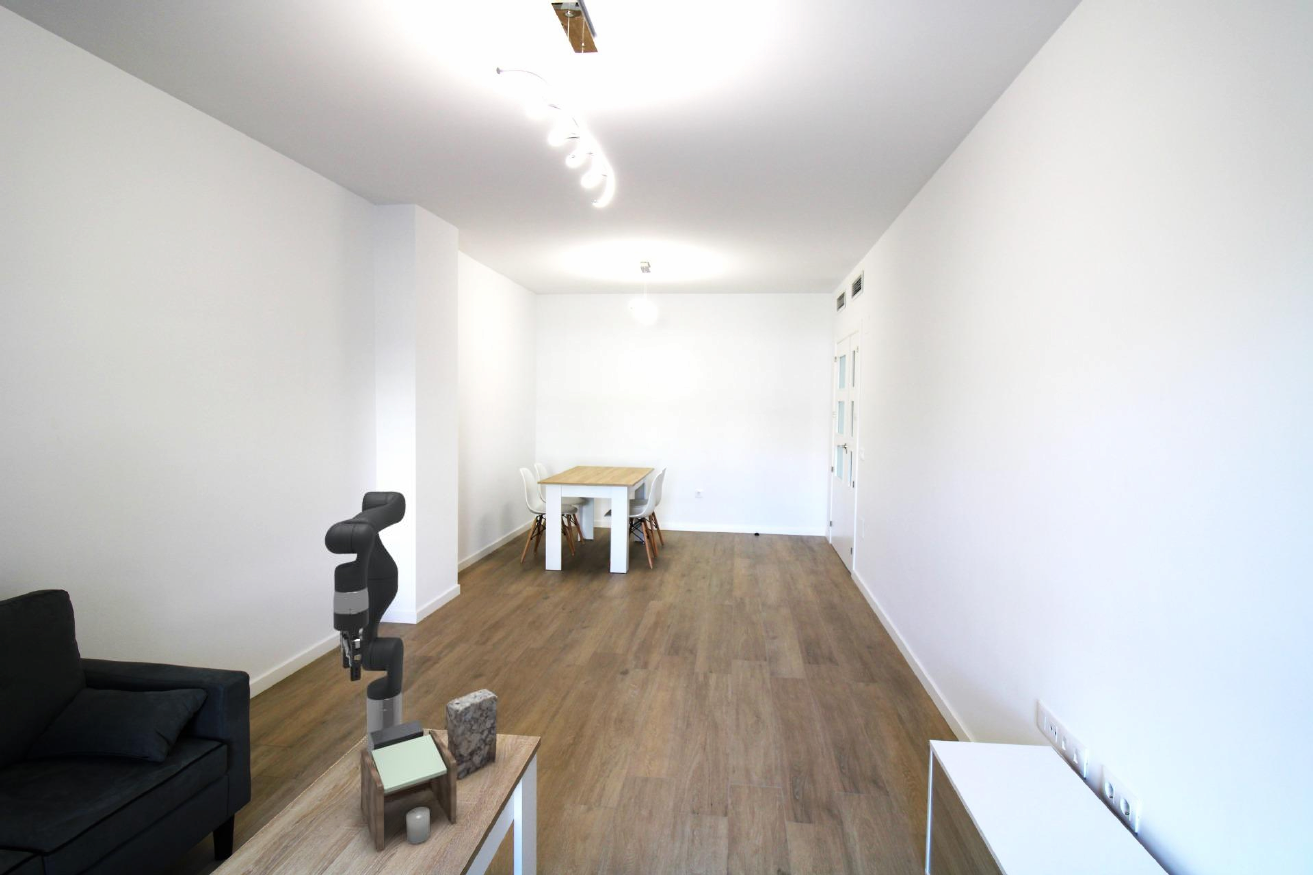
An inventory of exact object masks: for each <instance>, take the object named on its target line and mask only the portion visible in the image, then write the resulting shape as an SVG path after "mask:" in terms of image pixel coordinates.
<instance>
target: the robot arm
mask: <svg viewBox="0 0 1313 875" xmlns="http://www.w3.org/2000/svg"><path fill="white" fill-rule="evenodd" d="M406 507H407V503H406V497H405V495H403V493H401V492H399V491H367V492H366V493H365V494H364V495H363V497H362V502H361V512H359V513H357V514H355V516H353V517H352V518H349V519H345V520H342V521H339V522H336V523H334V524H332V525H331V526H330V527H329V528H328V529H327V531H326V534H325V535H324V545H325V546H324V547H326V549H327V551H329V552H330V553H331V554H334V555H354V554H355V555H356V558H355V560H351V561H347V562H344V563H340V564H338V565H337V566H335V568H334V572H333V573H334V576H333V578H334V579H333V580H334V582H333V583H334V591H333V601H332V602H333V610H332V611H333V613H332V614H333V629H334V630H335V631H338V632H339V647H340V648H341V649H340V651H341V653H342V667H343V669H349V679H350V682H358V681H360V680H361V679H362V670H364V671H367V672H386V675H385V676H382V677H378V678H376V679H374V680H373V681H371V682H369V683H368V685H367V688H366V749H367V751H368V753H369V755H370V757H371V759H372V760H373V758H372V755H371V751H372V749H371V747H370V744H369V738H370V732H374V731H378V730H381V729H385V728H389V727H393V726H396V725H400V724H403V723H402V722H403V716H402V715H403V711H402V709H403V707H402V704H403V702H402V700H403V699H402V698H403V697H402V695H403V693H402V692H403V689H402V685H403V674H404V673H403V672H404V671H403V670H404V669H403V668H404V653H405V647H404V642H403V640H402V638H401V637H398V636H397V637H396V636H391V637H390V636H378V632H379V626H380V623H381V620H382V618H383V616H384V615H385V614H386V612H387V610H388V609H389V607H390V606H391V605H392V603H393V601H394V600H395V598H396V597H397V594H398V591H399V568H398V565H397V563H396V561H395V560H394V558H393V557H392V555H391V554H390V552H389V551H388V550H387V548H386V546H385V545H384V543H383V541H382V539H381V537H380V534H379V533H380V532H381V531H383V530H385V529H387V528H388V527H391V526H393V525H396V524H398V523H400V522H401V521H403V519H404V517H405V513H406V509H407V508H406ZM361 629H362V630H361ZM360 630H361V633H360ZM356 656H357V658H358V659H355V657H356Z"/></svg>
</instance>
